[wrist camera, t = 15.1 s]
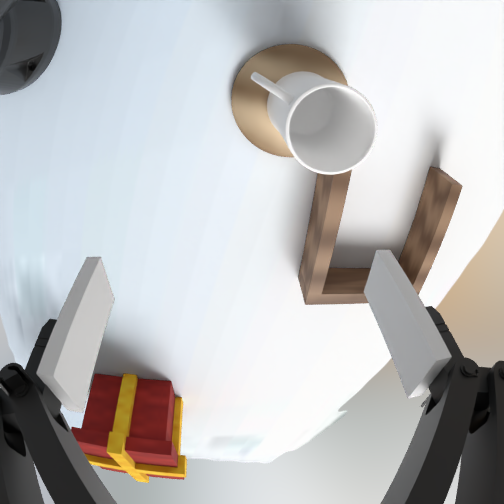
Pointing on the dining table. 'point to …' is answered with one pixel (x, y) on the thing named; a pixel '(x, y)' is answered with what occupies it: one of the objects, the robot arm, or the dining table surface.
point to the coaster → (255, 96)
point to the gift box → (133, 427)
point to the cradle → (354, 279)
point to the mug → (321, 121)
